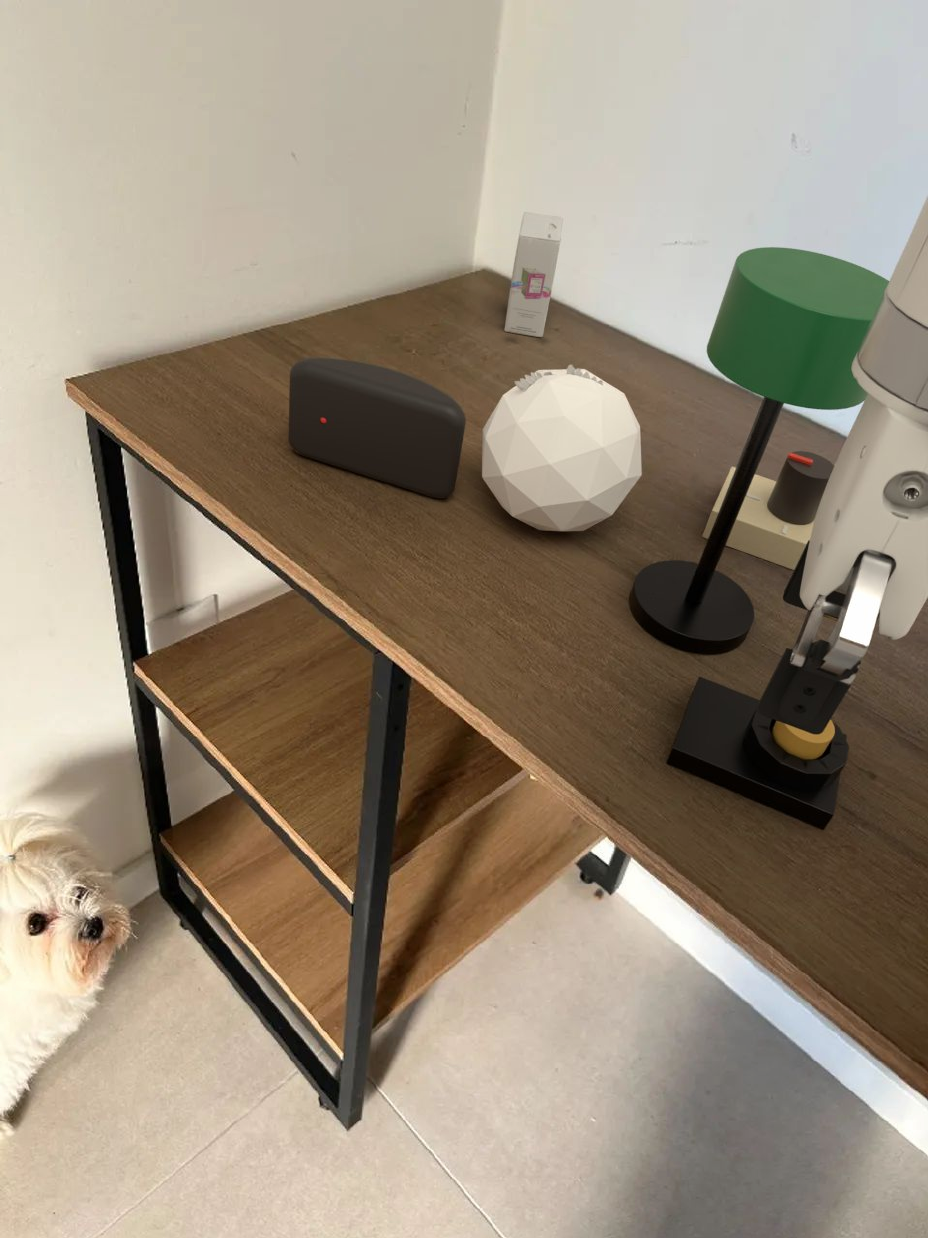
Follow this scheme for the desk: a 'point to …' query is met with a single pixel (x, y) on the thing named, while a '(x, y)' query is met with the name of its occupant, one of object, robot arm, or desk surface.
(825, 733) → the button
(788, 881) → the desk surface
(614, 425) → the geodesic sphere
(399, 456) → the dark grey speaker
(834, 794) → the button base
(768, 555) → the dimmer panel
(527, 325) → the ink box
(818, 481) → the dimmer knob
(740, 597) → the desk lamp
